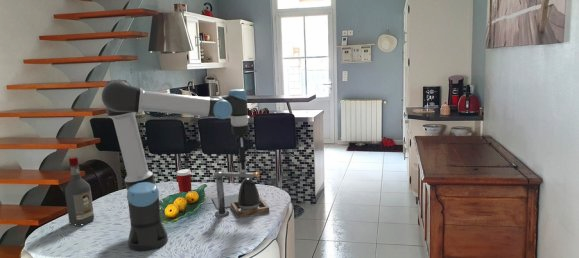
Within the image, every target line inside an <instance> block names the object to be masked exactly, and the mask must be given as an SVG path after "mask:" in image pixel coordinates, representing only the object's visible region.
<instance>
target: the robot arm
mask: <svg viewBox="0 0 579 258" xmlns="http://www.w3.org/2000/svg"><path fill="white" fill-rule="evenodd" d="M101 101H102V103H103V105H104V106H105V109H106V114H107V116H108V118H110V119H112V121H113V124H114V128H115V129H114V130H115V132H116V133H115V134H116V136H117V140H118V144H119V149H120V152H121V156H122V160H123V164H124V167H125V172H126V176H125V178H124V183H125V186H126V190H127V191H126V193H127V194H126V199H127V204H128V205H127V206H128V213H129V219H130V228H129V229H130V231H129V235H128V239H127V245H128V248H129V249H130V250H133V251H138V252H140V251H141V252H144V251H151V250H154V249H158V248H160V247H163V246H164V245H165V244H167V242H168V240H169V236H168V232H167V230H166V228H165V226H164V224H163V222H162V214H161V205H160V204H161V203H160V191H159V188H158V185H157V183H156V180H155V176H154V172H153V171H151V170H149V167H148V163H147V158H146V155H145V150H144V146H143V142H142V138H141V134H140V130H139V125H138V122H137V117H136V114H137V113H138V114H139V113H141V112H142V111H145V112H155V113H156V112H157V113H167V114H178V115H189V116H201V117H208V118H209V117H210V118H217V119H218V120H219V119H220V120H226V119H228V118H229V117H230V125H231V133H232V134H233V135H235V136H236V137H235V140H236V144H237V149H238V160H239V161H237V163H239V172H240V173H247V163H246V162H247V158H246V142H247V140H246V139H247V138H246V136H245V135H246V134H249V132H250V126H249V119H250V116H249V114H248V113H249V112H248V97H247V91H246V90H245V89H243V88H235V89H230V90H229V91H228V94H225V95H224V94H223V95H213V96H211V95H209V96H206V97H205V96H204V97H203V96H194V95H186V94H185V95H184V94H175V93H168V92H159V91H149V90H144V89H143V88H142V87H139V86H137V87H136V86H133V85H131V84H130V83H129V82H127V81H126V80H124V79H113V80H110V81H108V82H107V83H106V84H105V86H104V87H103V89H102V92H101Z"/></svg>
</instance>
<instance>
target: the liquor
mask: <svg viewBox="0 0 579 258" xmlns="http://www.w3.org/2000/svg"><path fill="white" fill-rule="evenodd" d="M68 162H69V168H70V175H71V178H70V181H69V182H68V183H67V185H66V186H65V188H64V196H65V202H66V209H67V216H68V223H69V224H70V223H71V224H70V225H72V224H76V225H75V226H77V225H80V226H82V225H81V224H85V225H87V224H89V223H92V222H94V219H95V212H94V206H93V205H94V204H93V197H92V191H91V185H90V183H88V182H87V181H86V180H85V179H83V178H82V176H81V173H80V166H79V164H80V163H79V158H78V156H74V157H73V156H72V157H69V158H68ZM91 221H92V222H91ZM88 222H89V223H88ZM86 223H87V224H86Z"/></svg>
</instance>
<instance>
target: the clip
mask: <svg viewBox="0 0 579 258" xmlns="http://www.w3.org/2000/svg"><path fill="white" fill-rule="evenodd" d="M213 177H214V178H216V177H224V178H225V177H228V178H230V177H233V178H234V177H235V178H240V177H241V178H255V179H257V178H260V172H259V171H256V172H246V173H240V171H239V172H235V171H233V172H230V171H228V172H227V171H223V170H220V171H215V172H213Z"/></svg>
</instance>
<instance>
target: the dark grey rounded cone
mask: <svg viewBox="0 0 579 258" xmlns="http://www.w3.org/2000/svg"><path fill="white" fill-rule="evenodd" d="M257 184H258V182H257V181H254V180H253V179H252V178H251V177H245V178H244V179H243V180H242V182H241V184H240V186H239V190H238V194H239V195H238V204H239V206H240V207H239V208H240V209H241V211H244V210H250V209H256V208H259V206H260V204H259V203H260V194H259V190H258V187H257Z"/></svg>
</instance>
